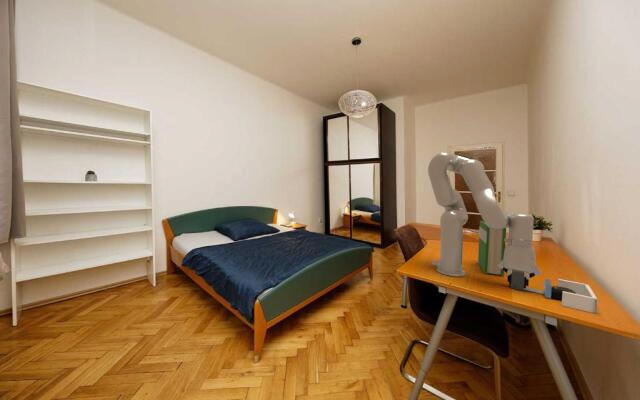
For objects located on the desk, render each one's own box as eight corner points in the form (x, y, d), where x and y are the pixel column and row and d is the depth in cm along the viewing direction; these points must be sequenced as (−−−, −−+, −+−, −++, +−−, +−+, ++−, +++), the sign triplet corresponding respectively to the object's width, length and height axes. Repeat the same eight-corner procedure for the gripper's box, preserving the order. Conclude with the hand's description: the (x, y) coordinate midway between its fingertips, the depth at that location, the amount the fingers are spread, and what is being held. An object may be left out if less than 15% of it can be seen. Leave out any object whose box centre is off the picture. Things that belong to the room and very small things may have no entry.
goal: (561, 305, 83) (562, 292, 83) (557, 290, 95) (558, 278, 95) (596, 313, 78) (597, 299, 77) (587, 297, 90) (588, 284, 89)
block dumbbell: (510, 289, 96) (511, 272, 95) (511, 283, 102) (512, 267, 101) (550, 298, 88) (552, 280, 87) (549, 291, 94) (550, 274, 93)
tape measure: (550, 298, 88) (551, 289, 88) (550, 292, 93) (550, 283, 93) (577, 305, 83) (577, 295, 83) (575, 298, 88) (576, 289, 88)
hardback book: (503, 276, 109) (506, 227, 108) (484, 274, 113) (487, 225, 111) (494, 265, 125) (496, 221, 124) (477, 263, 128) (479, 220, 127)
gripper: (494, 241, 99) (491, 282, 100) (548, 248, 88) (545, 294, 89) (495, 238, 105) (493, 277, 106) (547, 244, 93) (544, 288, 94)
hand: (517, 285), depth 97 cm, fingers closed on block dumbbell, 4 cm apart
